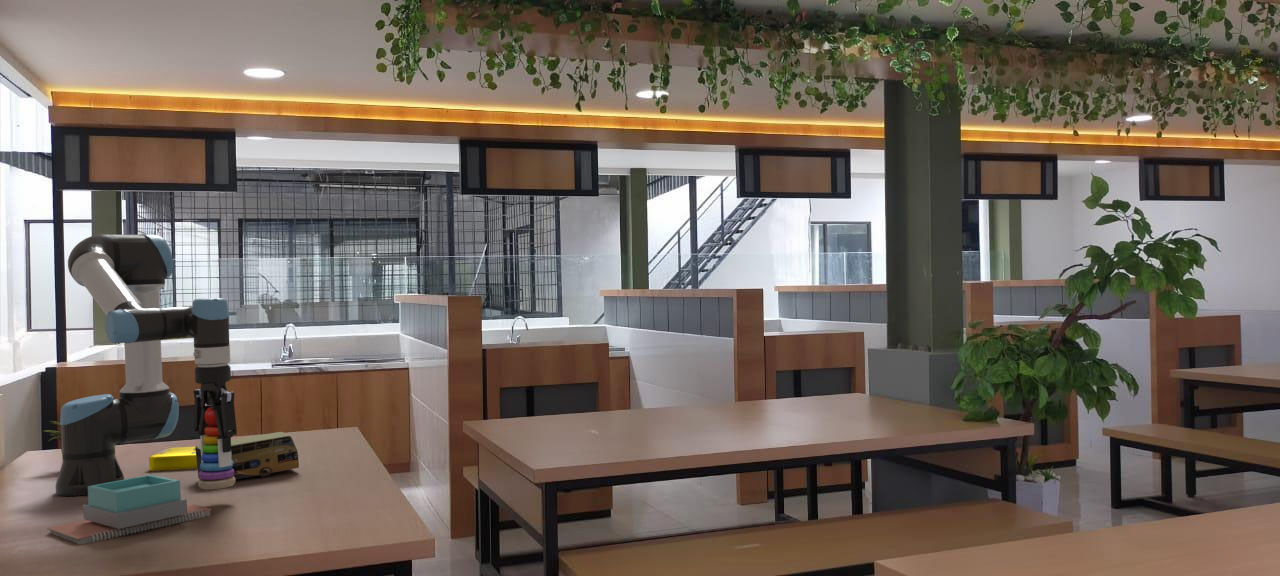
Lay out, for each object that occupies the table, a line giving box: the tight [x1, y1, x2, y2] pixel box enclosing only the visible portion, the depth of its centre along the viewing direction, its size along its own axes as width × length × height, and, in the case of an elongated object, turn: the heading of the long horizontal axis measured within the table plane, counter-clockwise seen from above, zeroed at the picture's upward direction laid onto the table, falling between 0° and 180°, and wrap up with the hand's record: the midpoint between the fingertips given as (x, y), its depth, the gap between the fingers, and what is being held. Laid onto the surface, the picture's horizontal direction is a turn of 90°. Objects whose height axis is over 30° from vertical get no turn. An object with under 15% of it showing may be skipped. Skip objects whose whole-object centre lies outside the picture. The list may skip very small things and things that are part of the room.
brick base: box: [82, 474, 188, 529], centre depth 201 cm, size 16×14×7 cm
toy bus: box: [194, 431, 300, 480], centre depth 250 cm, size 10×23×10 cm, turn 124°
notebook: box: [46, 502, 213, 545], centre depth 203 cm, size 27×17×2 cm, turn 141°
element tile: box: [148, 446, 198, 472], centre depth 272 cm, size 15×15×5 cm
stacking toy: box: [197, 407, 237, 490], centre depth 219 cm, size 8×8×19 cm
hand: (216, 464), depth 219 cm, fingers closed on stacking toy, 7 cm apart
